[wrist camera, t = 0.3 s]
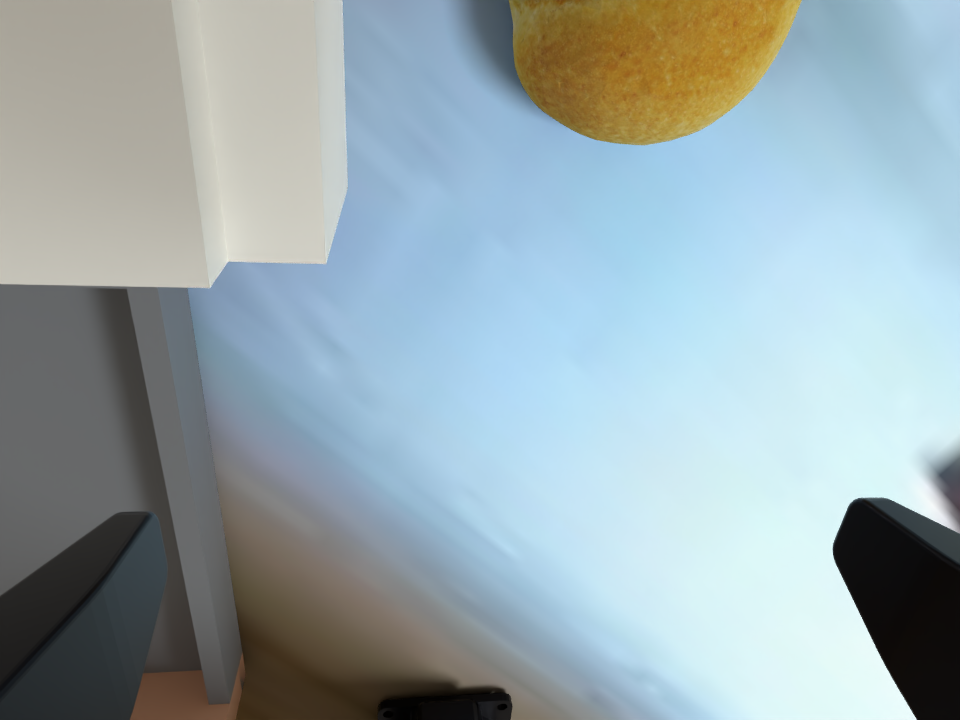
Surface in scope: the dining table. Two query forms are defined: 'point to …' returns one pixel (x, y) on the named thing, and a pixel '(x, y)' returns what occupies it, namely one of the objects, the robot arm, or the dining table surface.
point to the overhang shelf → (168, 138)
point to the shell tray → (120, 468)
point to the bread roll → (644, 61)
